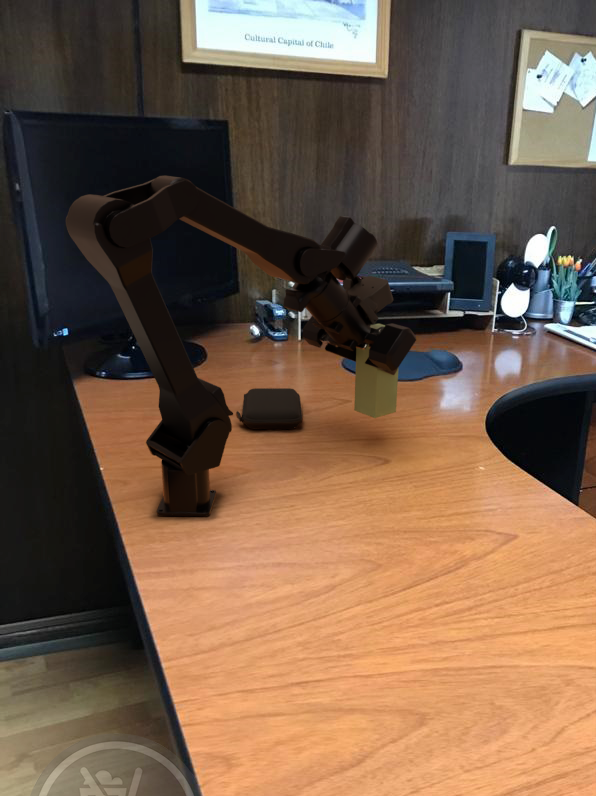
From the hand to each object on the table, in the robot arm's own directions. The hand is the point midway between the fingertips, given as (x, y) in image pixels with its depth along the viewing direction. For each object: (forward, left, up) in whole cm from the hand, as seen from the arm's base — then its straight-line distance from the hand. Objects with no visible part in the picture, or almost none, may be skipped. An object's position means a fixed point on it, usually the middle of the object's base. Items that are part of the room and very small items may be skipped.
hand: (383, 368), depth 117 cm
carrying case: (+10, +18, -12) cm, 24 cm away
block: (-1, +1, -7) cm, 7 cm away
